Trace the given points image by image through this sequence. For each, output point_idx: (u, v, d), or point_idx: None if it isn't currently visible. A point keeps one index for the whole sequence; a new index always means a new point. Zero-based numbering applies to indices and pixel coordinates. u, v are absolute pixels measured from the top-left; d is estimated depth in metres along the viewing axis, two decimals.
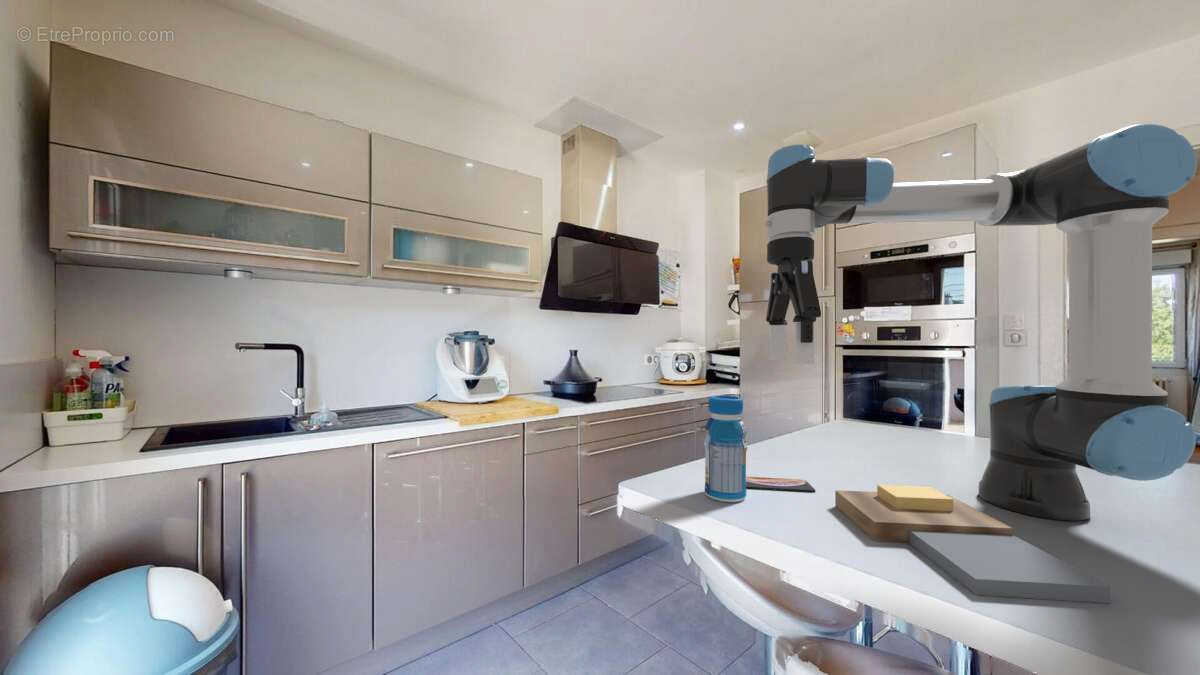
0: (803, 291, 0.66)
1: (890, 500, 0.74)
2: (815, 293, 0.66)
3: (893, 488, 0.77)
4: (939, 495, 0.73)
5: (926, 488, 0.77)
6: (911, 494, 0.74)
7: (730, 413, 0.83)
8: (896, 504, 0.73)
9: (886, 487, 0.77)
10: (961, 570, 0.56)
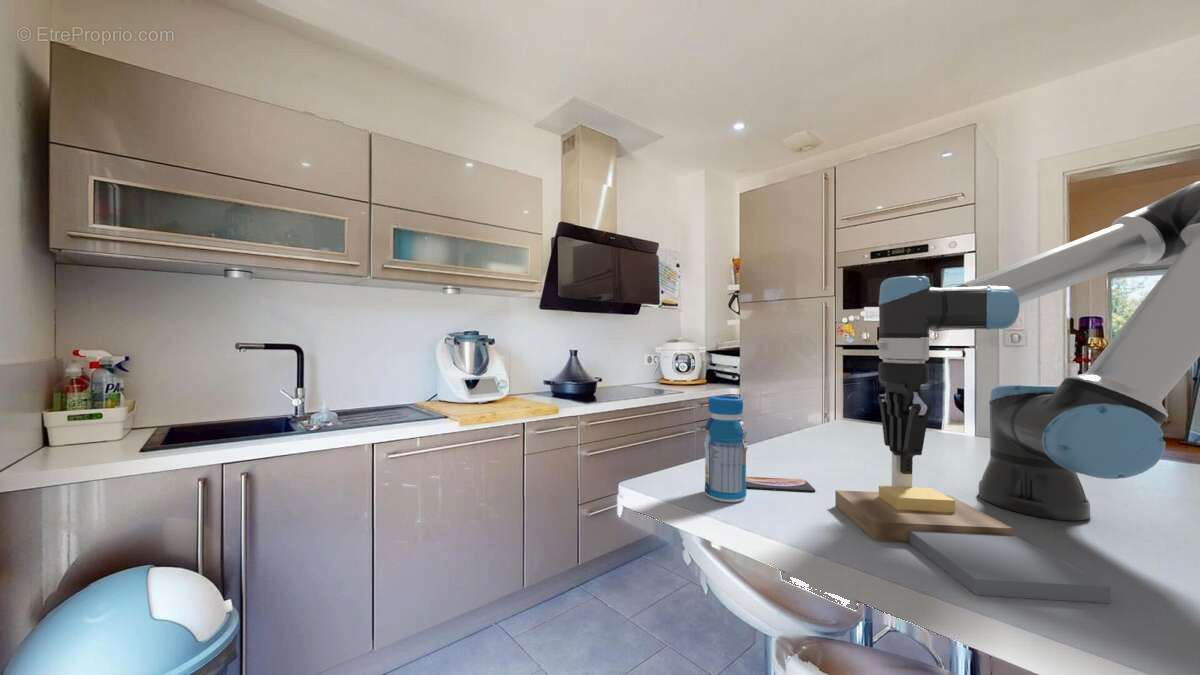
0: (912, 434, 0.74)
1: (891, 500, 0.74)
2: (923, 436, 0.74)
3: (895, 489, 0.76)
4: (941, 496, 0.73)
5: (928, 489, 0.76)
6: (912, 495, 0.73)
7: (730, 413, 0.83)
8: (897, 505, 0.72)
9: (887, 488, 0.77)
10: (961, 570, 0.56)
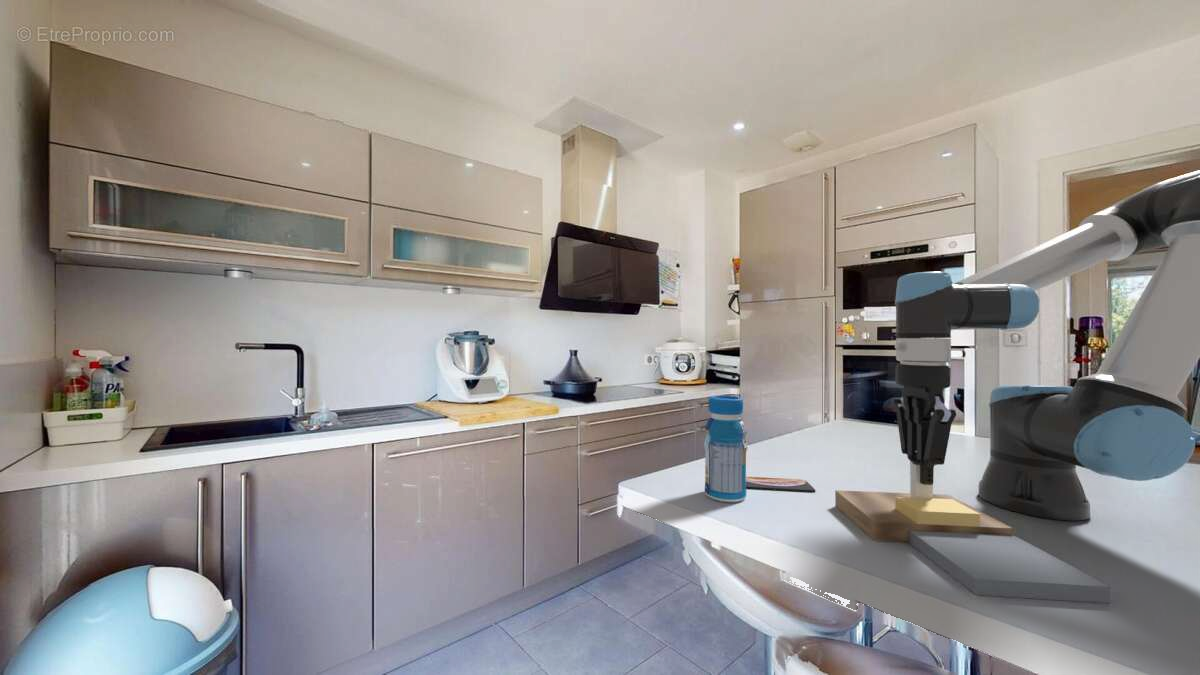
0: (934, 442, 0.69)
1: (911, 514, 0.68)
2: (945, 444, 0.68)
3: (913, 501, 0.71)
4: (964, 509, 0.68)
5: (949, 501, 0.71)
6: (933, 508, 0.68)
7: (730, 413, 0.83)
8: (917, 519, 0.67)
9: (905, 500, 0.71)
10: (961, 570, 0.56)
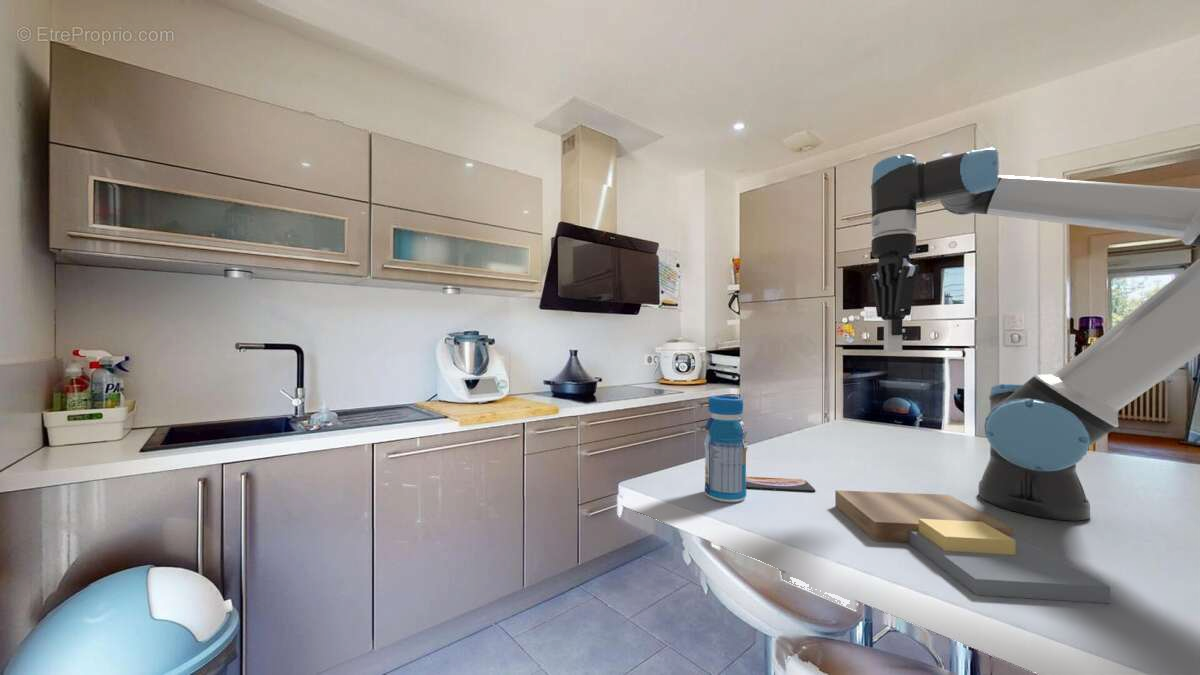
0: (902, 295, 0.82)
1: (937, 539, 0.62)
2: (911, 296, 0.82)
3: (939, 524, 0.64)
4: (997, 534, 0.61)
5: (978, 524, 0.64)
6: (962, 533, 0.61)
7: (730, 413, 0.83)
8: (945, 545, 0.60)
9: (930, 523, 0.65)
10: (961, 570, 0.56)
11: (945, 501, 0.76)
